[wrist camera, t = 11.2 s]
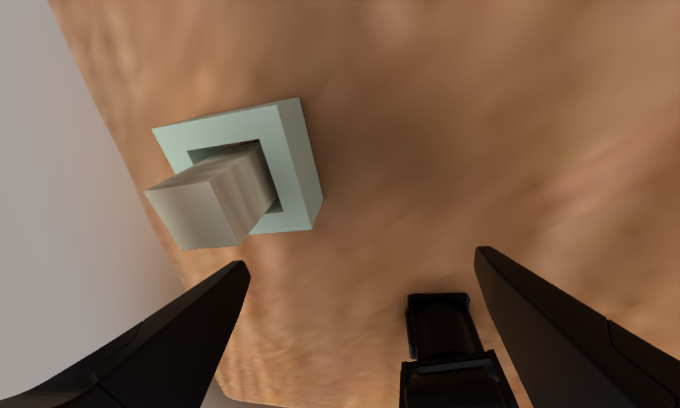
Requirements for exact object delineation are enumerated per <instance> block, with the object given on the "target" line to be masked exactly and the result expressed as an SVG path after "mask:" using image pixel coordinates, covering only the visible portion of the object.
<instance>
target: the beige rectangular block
mask: <svg viewBox="0 0 680 408" xmlns="http://www.w3.org/2000/svg"><path fill="white" fill-rule="evenodd" d="M144 193H145V194H146V196H147V198H148V199H149V201H150V202H151V204H152V206H153V207H154V209H155V210H156V212H157V213H158V215H159V217H160V218H161V220H162V221H163V223H164V224H165V226H166V228H167V229H168V231H169V232H170V234H171V235H172V237H173V239H174V240H175V242H176V243H177V245H178V247H179V248H180V250H193V249H205V248H216V247H228V246H240V245H241V243H242V242H243V241H244V239H245V238H246V237H247V235H248V234H249V233H250V232H251V230H252V229H253V228H254V226H255V225H256V224H257V223H258V221H259V220H260V219H261V217H262V216H263V215H264V213H265V212H266V211H267V210H268V208H269V207H270V206H271V204H272V203H273V202H274V201H275V199H276V198H277V197H278V193H277V190H276V187H275V184H274V181H273V178H272V175H271V172H270V169H269V166H268V163H267V160H266V157H265V155H264V152H263V149H262V146H261V143H260V142H254V143H249V144H243V145H238V146H232V147H228V148H226V149H224V150H222V151H220V152H218V153H216V154H214V155H213V156H211V157H209V158H207V159H205V160H203V161H201V162H199V163H197V164H195V165H193V166H191V167H190V168H188V169H186V170H184V171H182V172H180V173H178V174H176V175H174V176H172V177H170V178H168V179H167V180H165V181H163V182H161V183H159V184H157V185H155V186H153V187H151V188H149V189H147V190H145V191H144Z"/></svg>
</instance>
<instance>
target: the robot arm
mask: <svg viewBox="0 0 680 408" xmlns="http://www.w3.org/2000/svg"><path fill="white" fill-rule="evenodd" d="M474 269H475V273H476V276H477V279H478V282H479V285H480V288H481V291H482V294H483V297H484V299H485V302H486V305H487V308H488V311H489V313H490V316H491V318H492V320H493V322H494V324H495V327H496V329H497V331H498V333H499V335H500V337H501V339H502V341H503V344H504V346H505V348H506V350H507V352H508V354H509V356H510V358H511V360H512V363H513V365H514V367H515V369H516V371H517V373H518V375H519V377H520V380H521V382H522V384H523V386H524V388H525V390H526V392H527V394H528V397H529V399H530V401H531V403H532V405H533V407H534V408H680V361H679V360H678V359H676V358H674V357H672V356H670V355H669V354H667V353H665V352H663V351H662V350H660V349H658V348H656V347H655V346H653V345H651V344H650V343H648V342H646V341H645V340H643V339H641V338H639V337H638V336H636V335H634V334H633V333H631V332H629V331H628V330H626V329H624V328H623V327H621V326H620V325H618V324H616V323H615V322H613V321H611V320H607V318H606V317H605V316H603V315H601V314H600V313H598V312H597V311H595V310H593V309H592V308H590V307H588V306H587V305H585V304H584V303H582V302H580V301H579V300H577V299H575V298H574V297H572V296H571V295H569V294H567V293H566V292H564V291H562V290H561V289H559V288H558V287H556V286H554V285H553V284H551V283H549V282H548V281H546V280H545V279H543V278H541V277H540V276H538V275H536V274H535V273H533V272H532V271H530V270H528V269H527V268H525V267H523V266H522V265H520V264H518V263H517V262H515V261H514V260H512V259H510V258H509V257H507V256H505V255H504V254H502V253H501V252H499V251H497V250H496V249H494V248H492V247H491V246H478V247H477V248H476V250H475V259H474ZM250 280H251V275H250V273H249V271H248V268H247V266H246V264H245V262H244V261H242V260H238V261H232V262H231V263H229V264H228V265H226V266H225V267H223V268H222V269H220V270H219V271H217V272H216V273H214V274H213V275H211V276H209V277H208V278H206V279H205V280H203V281H202V282H200V283H199V284H197V285H196V286H194V287H193V288H191V289H190V290H188V291H187V292H185V293H184V294H182V295H181V296H180V297H178V298H177V299H175V300H173V301H172V302H170V303H169V304H167V305H166V306H164V307H163V308H161V309H160V310H158V311H157V312H155V313H154V314H152V315H151V316H149V317H148V318H146V319H145V320H144V321H142V322H140V323H139V324H137V325H136V326H134V327H133V328H131V329H129V330H128V331H126V332H125V333H123V334H122V335H120V336H119V337H117V338H116V339H114V340H112V341H111V342H109V343H108V344H106V345H104V346H103V347H101V348H99V349H98V350H96V351H95V352H93V353H91V354H90V355H88V356H87V357H85V358H83V359H81V360H80V361H78V362H77V363H75V364H73V365H72V366H70V367H68V368H67V369H65V370H63V371H62V372H60V373H58V374H57V375H55V376H53V377H52V378H50V379H49V380H47V381H45V382H43V383H42V384H40V385H38V386H36V387H34V388H32V389H30V390H28V391H25V392H23V393H21V394H18V395H15V396H12V397H9V398H6V399H3V400H0V408H200V407H201V404H202V402H203V400H204V397H205V395H206V393H207V390H208V388H209V386H210V383H211V380H212V378H213V376H214V374H215V371H216V369H217V367H218V364H219V362H220V360H221V357H222V355H223V353H224V350H225V348H226V346H227V343H228V341H229V338H230V336H231V334H232V331H233V329H234V327H235V324H236V322H237V320H238V317H239V314H240V312H241V309H242V306H243V302H244V299H245V296H246V293H247V290H248V287H249V283H250ZM412 299H413V300H412ZM469 303H470V298H469V296H468V295H467V294H433V295H410V296H408V308H409V310H406V311H405V318H406V329H407V337H408V345H409V353H410V357H411V359H416V361H413V362H407V361H405V362H402V368H401V374H400V399H399V408H519V406H518V404H517V401H516V399H515V397H514V394H513V392H512V390H511V388H510V385H509V383H508V381H507V378H506V376H505V374H504V372H503V369H502V367H501V365H500V363H499V360H498V358H497V356H496V354H495V351H494V349H491V350H487V351H484V348H483V346H482V343H481V340H480V338H479V335H478V333H477V330H476V328H475V325H474V323H473V320H472V318H471V315H470V312H469Z"/></svg>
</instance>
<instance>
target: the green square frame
mask: <svg viewBox="0 0 680 408" xmlns="http://www.w3.org/2000/svg"><path fill="white" fill-rule="evenodd" d="M152 131H153V133H154V135H155V137H156V138H157V140H158V142H159V144H160V146H161V148H162V150H163V152H164V153H165V155H166V157H167V159H168V161H169V163H170V165H171V167H172V168H173V170H174V172H175V174H178V173H180V172H182V171H184V170H186V169H188V168H190V167H191V166H193V165H195V164H197V163H199V162H201V161H203V160H205V159H207V158H209V157H211V156H213V155H214V154H216V153H218V152H220V151H222V150H224V149H226V148H228V147H230V146H229V144H231V143H236V142H242V141H248V140H254V139H259V140H260V143H261V146H262V149H263V152H264V155H265V157H266V160H267V163H268V166H269V169H270V172H271V175H272V178H273V181H274V184H275V187H276V190H277V193H278V197H277V198H276V199H275V201H274V202H273V203H272V204H271V206H270V207H269V208H268V210H267V211H266V212H265V213H264V215H263V216H262V217H261V219H260V220H259V221H258V223H257V224H256V225H255V226H254V228H253V229H252V230H251V232H250V233H249V234H248V235H251V234H263V233H276V232H288V231H300V230H312V228H313V225H314V223H315V220H316V218H317V215H318V213H319V210H320V208H321V205H322V203H323V200H324V199H323V195H322V191H321V187H320V182H319V178H318V174H317V170H316V166H315V162H314V157H313V153H312V149H311V145H310V141H309V137H308V132H307V128H306V124H305V120H304V116H303V112H302V108H301V103H300V99H299V97H296V98H290V99H285V100H280V101H275V102H270V103H265V104H260V105H255V106H250V107H245V108H240V109H235V110H230V111H225V112H220V113H215V114H210V115H204V116H199V117H195V118H191V119H188V120H184V121H180V122H176V123H172V124H168V125H165V126H161V127H157V128H153V129H152Z"/></svg>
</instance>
